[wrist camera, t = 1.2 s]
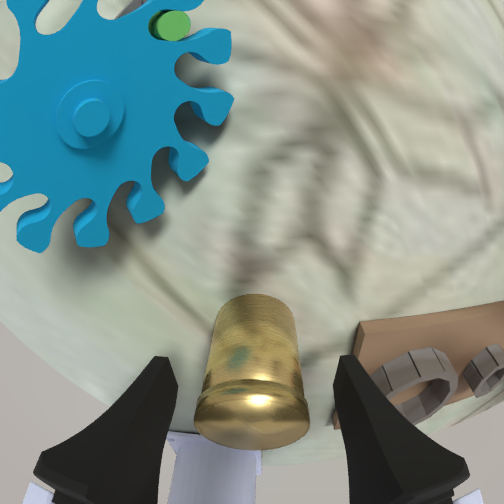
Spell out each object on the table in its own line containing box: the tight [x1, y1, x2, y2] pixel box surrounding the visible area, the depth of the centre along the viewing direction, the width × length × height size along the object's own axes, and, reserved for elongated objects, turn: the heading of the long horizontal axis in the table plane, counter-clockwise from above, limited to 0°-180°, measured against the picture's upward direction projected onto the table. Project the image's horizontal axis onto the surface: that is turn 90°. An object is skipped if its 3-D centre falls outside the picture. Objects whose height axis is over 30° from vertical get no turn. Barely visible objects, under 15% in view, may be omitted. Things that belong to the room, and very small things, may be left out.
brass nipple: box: [194, 294, 310, 451], centre depth 12 cm, size 4×4×6 cm
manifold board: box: [332, 301, 504, 430], centre depth 14 cm, size 10×15×3 cm, turn 92°
